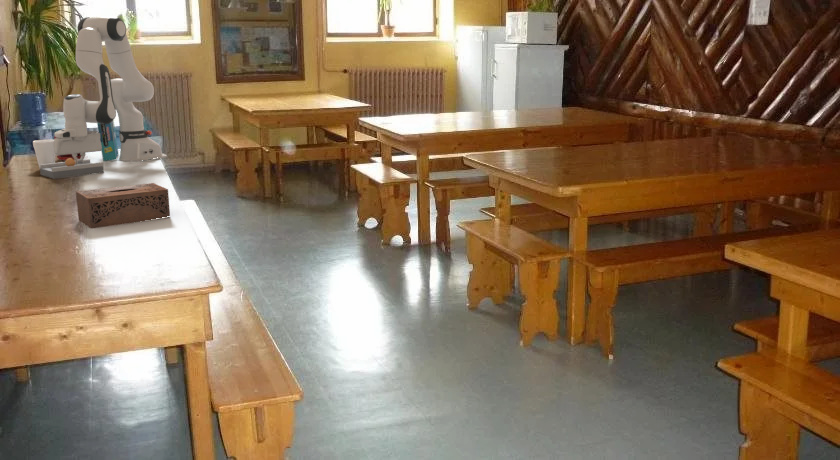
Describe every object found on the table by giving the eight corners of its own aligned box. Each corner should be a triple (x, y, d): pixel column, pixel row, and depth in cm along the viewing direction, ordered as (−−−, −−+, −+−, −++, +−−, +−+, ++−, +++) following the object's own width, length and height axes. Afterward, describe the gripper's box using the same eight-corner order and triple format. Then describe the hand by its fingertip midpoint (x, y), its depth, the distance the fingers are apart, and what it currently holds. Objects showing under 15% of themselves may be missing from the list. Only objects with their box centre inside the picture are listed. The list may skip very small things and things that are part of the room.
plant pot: (78, 161, 391) (76, 136, 388) (51, 161, 391) (48, 136, 388) (89, 157, 404) (87, 133, 401) (63, 157, 404) (61, 133, 401)
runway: (90, 168, 369) (89, 159, 368) (103, 172, 360) (102, 162, 359) (40, 174, 354) (39, 164, 353) (53, 178, 345) (52, 168, 343)
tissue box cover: (155, 211, 284) (153, 183, 282) (170, 218, 273) (168, 189, 270) (78, 220, 269) (75, 191, 267) (90, 229, 258) (87, 198, 255)
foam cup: (62, 167, 373) (59, 139, 369) (51, 171, 364) (48, 142, 360) (43, 167, 373) (39, 139, 370) (31, 170, 364) (28, 142, 361)
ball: (68, 155, 356) (61, 162, 355) (72, 156, 354) (65, 163, 352) (74, 162, 359) (68, 168, 357) (78, 163, 356) (72, 169, 354)
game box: (105, 155, 411) (97, 101, 404) (118, 153, 413) (110, 100, 406) (102, 161, 392) (93, 104, 385) (116, 159, 394) (107, 103, 387)
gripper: (96, 129, 364) (99, 160, 368) (50, 133, 350) (53, 165, 353) (102, 130, 360) (105, 161, 363) (56, 134, 346) (59, 166, 349)
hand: (79, 163), depth 358 cm, fingers closed
